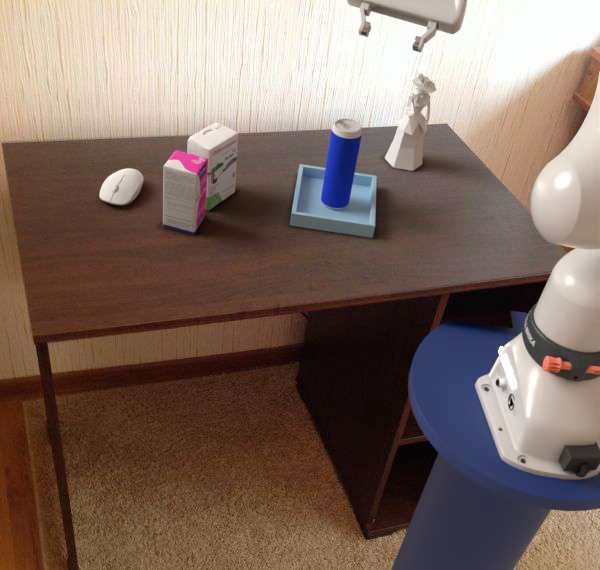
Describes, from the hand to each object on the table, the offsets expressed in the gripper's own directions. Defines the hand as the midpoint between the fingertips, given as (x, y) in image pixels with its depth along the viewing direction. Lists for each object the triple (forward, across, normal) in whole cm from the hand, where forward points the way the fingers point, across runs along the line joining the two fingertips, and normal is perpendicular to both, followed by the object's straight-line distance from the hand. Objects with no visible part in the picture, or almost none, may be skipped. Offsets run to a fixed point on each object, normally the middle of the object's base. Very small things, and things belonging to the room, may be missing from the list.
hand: (389, 42), depth 124 cm
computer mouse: (+38, -35, -1) cm, 52 cm away
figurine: (+10, +4, +28) cm, 30 cm away
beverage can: (+26, -2, +11) cm, 28 cm away
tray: (+26, -2, +11) cm, 28 cm away
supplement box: (+40, -22, -2) cm, 45 cm away
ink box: (+33, -22, +4) cm, 40 cm away
